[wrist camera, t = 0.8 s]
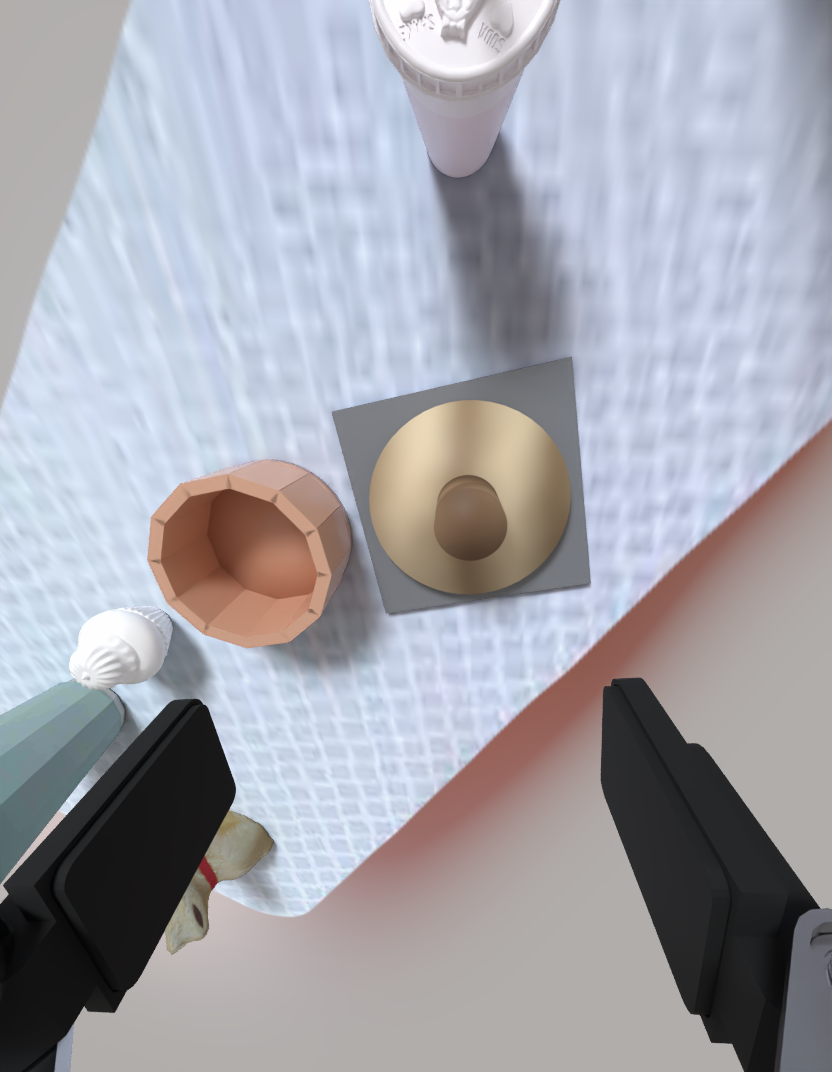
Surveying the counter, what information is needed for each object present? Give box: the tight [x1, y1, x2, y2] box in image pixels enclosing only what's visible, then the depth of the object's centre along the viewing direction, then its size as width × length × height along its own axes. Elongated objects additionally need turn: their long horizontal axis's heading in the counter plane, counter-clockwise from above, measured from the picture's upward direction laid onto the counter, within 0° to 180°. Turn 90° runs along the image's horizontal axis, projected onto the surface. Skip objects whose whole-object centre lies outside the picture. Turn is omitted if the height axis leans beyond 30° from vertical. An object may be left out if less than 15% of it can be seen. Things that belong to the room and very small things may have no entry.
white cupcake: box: [69, 606, 173, 690], centre depth 30 cm, size 6×6×7 cm
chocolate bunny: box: [165, 811, 274, 955], centre depth 37 cm, size 6×8×10 cm
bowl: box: [147, 459, 352, 648], centre depth 27 cm, size 11×11×6 cm
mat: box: [332, 357, 591, 613], centre depth 28 cm, size 15×15×1 cm
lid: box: [369, 400, 571, 594], centre depth 25 cm, size 13×13×6 cm
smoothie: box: [369, 0, 560, 178], centre depth 15 cm, size 6×6×14 cm
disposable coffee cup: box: [0, 679, 125, 884], centre depth 30 cm, size 11×11×15 cm
